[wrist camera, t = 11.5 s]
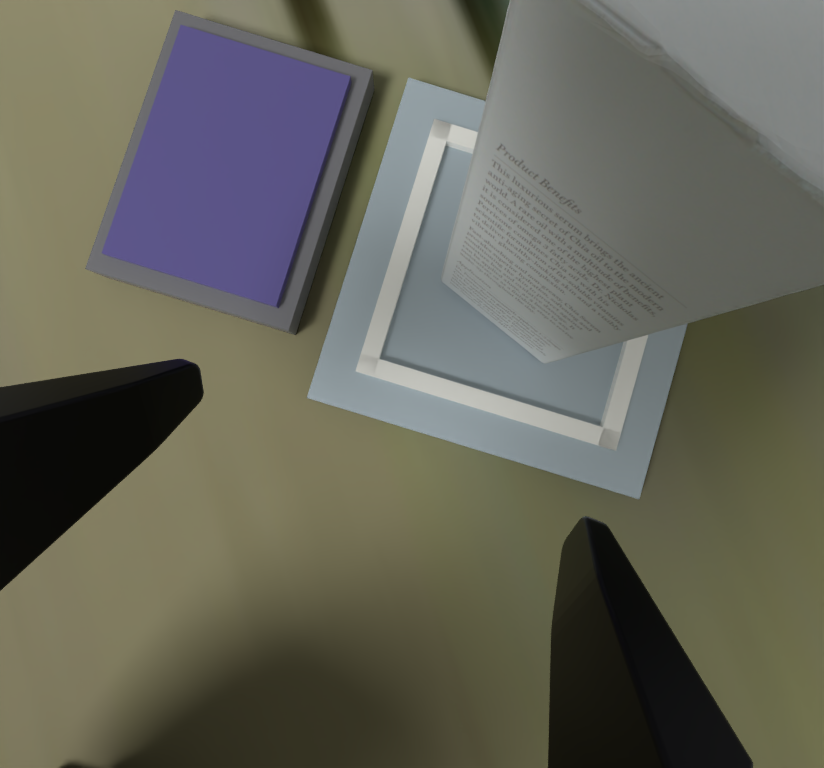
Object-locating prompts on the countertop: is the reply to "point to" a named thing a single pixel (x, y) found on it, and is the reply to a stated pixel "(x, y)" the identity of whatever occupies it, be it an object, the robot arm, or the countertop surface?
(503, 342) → the board
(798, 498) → the countertop surface
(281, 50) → the ink pad
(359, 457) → the countertop surface
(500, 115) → the skincare box
